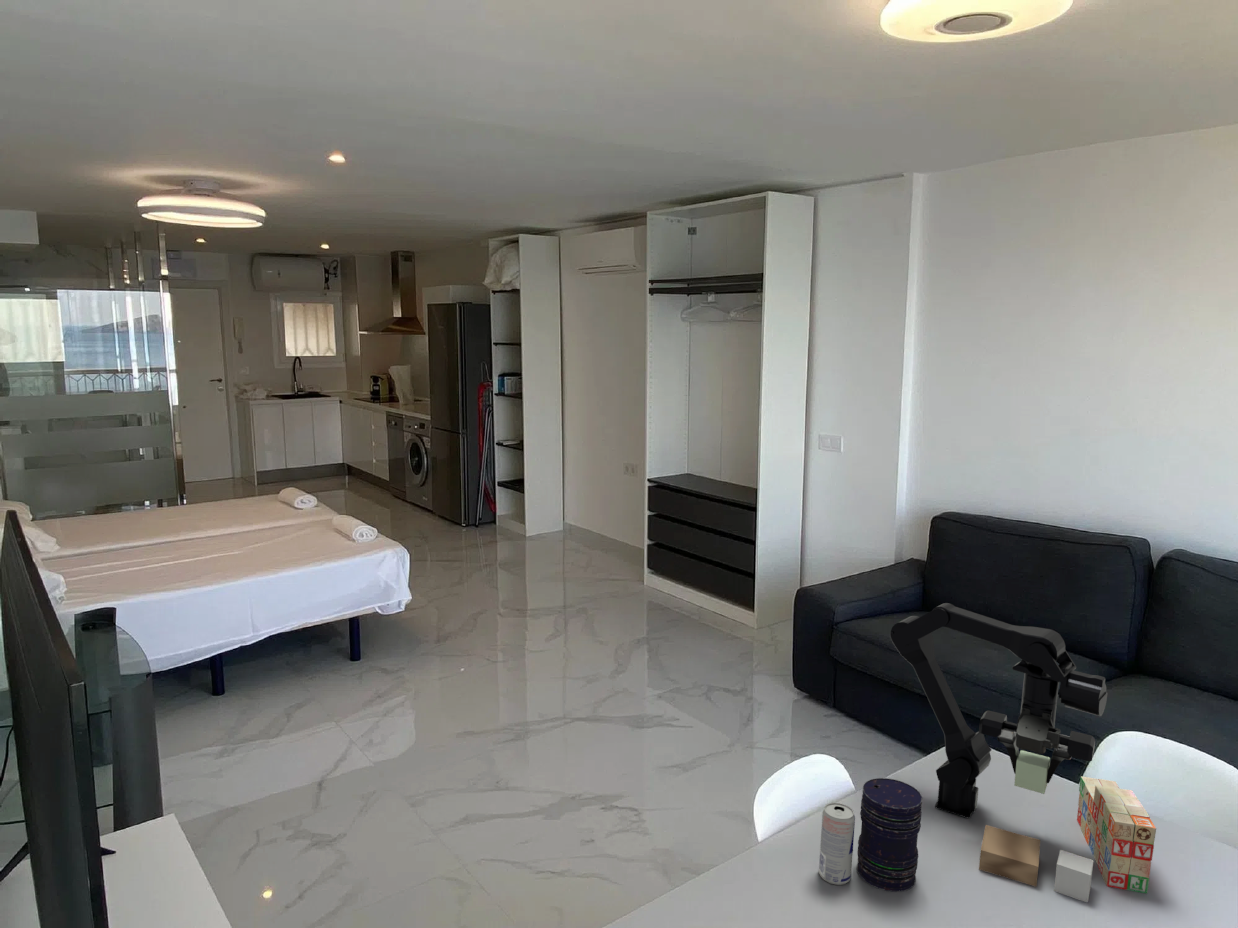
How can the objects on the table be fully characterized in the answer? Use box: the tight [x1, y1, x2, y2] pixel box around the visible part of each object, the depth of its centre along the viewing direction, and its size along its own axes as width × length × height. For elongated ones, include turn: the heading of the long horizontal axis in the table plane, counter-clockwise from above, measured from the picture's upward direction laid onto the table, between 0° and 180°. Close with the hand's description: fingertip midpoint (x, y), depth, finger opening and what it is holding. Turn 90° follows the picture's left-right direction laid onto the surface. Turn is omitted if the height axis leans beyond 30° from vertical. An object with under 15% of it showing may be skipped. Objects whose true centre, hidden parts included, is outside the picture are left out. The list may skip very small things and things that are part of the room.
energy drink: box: [818, 802, 856, 886], centre depth 139 cm, size 5×5×12 cm
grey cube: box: [1053, 849, 1095, 903], centre depth 137 cm, size 5×5×5 cm
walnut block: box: [978, 824, 1041, 887], centre depth 144 cm, size 9×9×4 cm
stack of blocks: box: [1076, 776, 1157, 894], centre depth 147 cm, size 21×6×12 cm, turn 163°
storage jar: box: [856, 777, 923, 893], centre depth 139 cm, size 10×10×15 cm
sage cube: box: [1014, 749, 1051, 795], centre depth 152 cm, size 5×5×5 cm
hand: (1031, 777), depth 152 cm, fingers closed on sage cube, 5 cm apart
